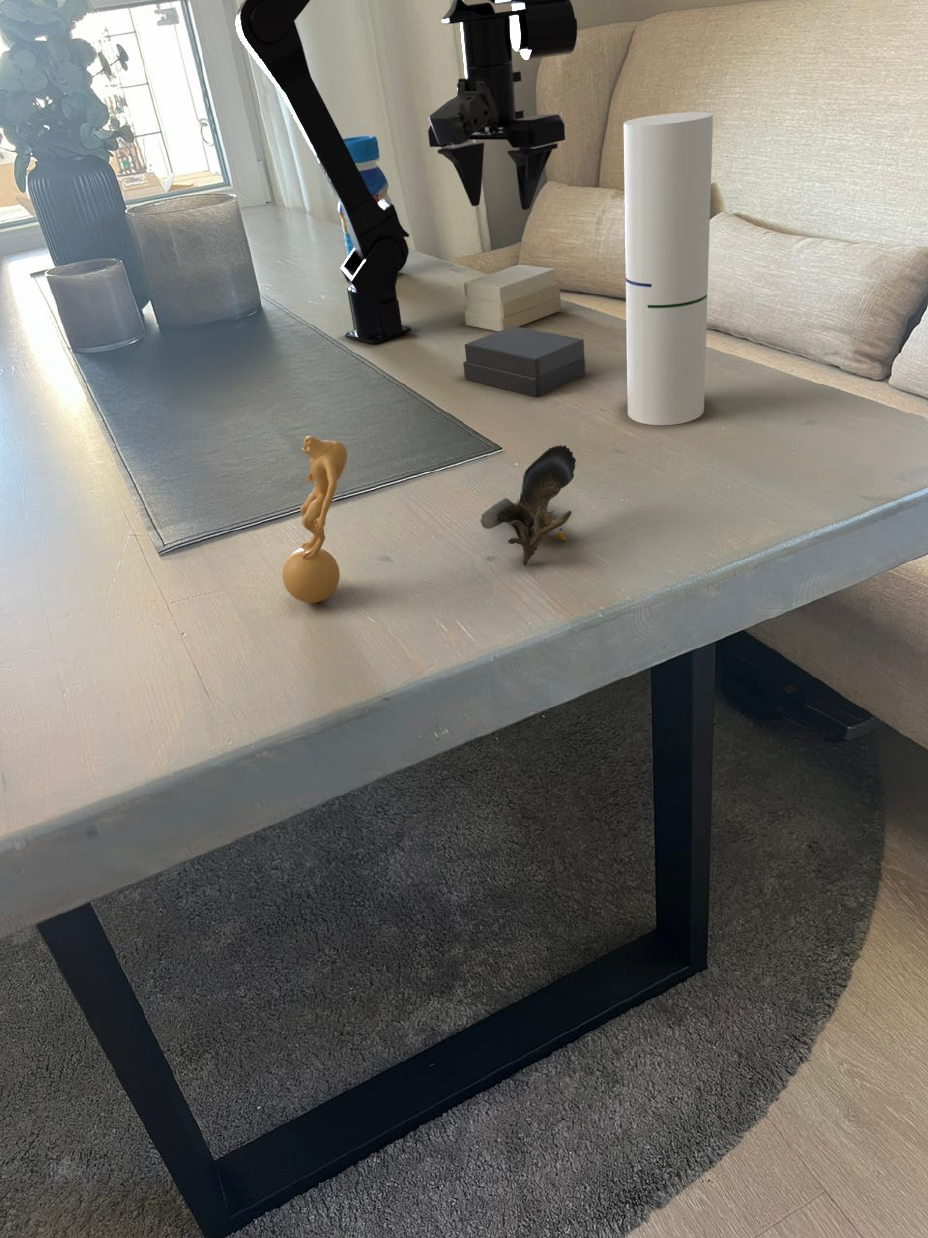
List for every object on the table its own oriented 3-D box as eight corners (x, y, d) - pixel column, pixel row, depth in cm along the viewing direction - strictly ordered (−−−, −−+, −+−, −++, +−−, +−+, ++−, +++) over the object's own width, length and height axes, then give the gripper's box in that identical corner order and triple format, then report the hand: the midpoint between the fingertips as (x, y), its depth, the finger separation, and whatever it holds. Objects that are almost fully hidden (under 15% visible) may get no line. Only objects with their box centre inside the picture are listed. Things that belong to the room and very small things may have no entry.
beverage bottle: (372, 268, 157) (352, 135, 147) (411, 270, 153) (393, 133, 142) (338, 280, 152) (315, 143, 141) (378, 283, 147) (357, 142, 137)
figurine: (285, 576, 70) (249, 424, 64) (364, 561, 71) (336, 409, 65) (292, 634, 63) (252, 471, 57) (379, 616, 64) (349, 453, 58)
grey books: (464, 379, 104) (460, 343, 102) (513, 359, 108) (510, 324, 106) (536, 397, 97) (533, 359, 95) (586, 375, 101) (584, 338, 99)
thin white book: (520, 277, 126) (519, 263, 125) (556, 283, 121) (555, 268, 120) (464, 296, 120) (463, 282, 119) (500, 302, 116) (499, 287, 115)
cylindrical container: (656, 393, 94) (657, 112, 81) (718, 405, 90) (730, 110, 76) (612, 416, 90) (605, 125, 77) (674, 430, 86) (679, 124, 72)
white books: (503, 332, 118) (501, 303, 116) (465, 325, 122) (462, 296, 120) (561, 310, 123) (560, 282, 121) (522, 304, 128) (520, 277, 126)
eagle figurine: (604, 549, 66) (599, 475, 73) (544, 483, 63) (544, 411, 69) (518, 597, 70) (521, 522, 76) (457, 537, 66) (465, 464, 73)
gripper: (386, 77, 112) (405, 216, 121) (493, 69, 100) (505, 225, 108) (455, 65, 118) (468, 199, 127) (564, 57, 106) (571, 206, 114)
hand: (500, 207), depth 119 cm, fingers open, 9 cm apart
